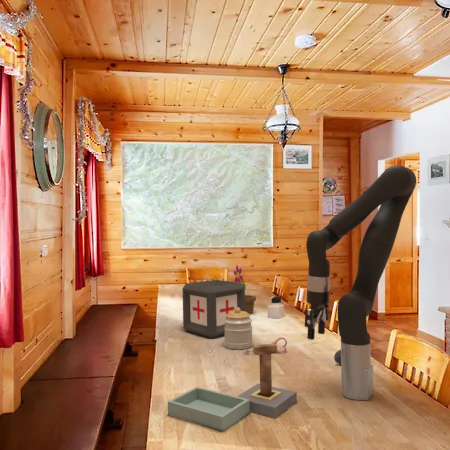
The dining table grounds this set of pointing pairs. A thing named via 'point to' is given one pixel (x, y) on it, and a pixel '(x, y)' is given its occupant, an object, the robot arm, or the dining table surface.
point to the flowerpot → (248, 298)
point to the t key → (265, 367)
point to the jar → (238, 330)
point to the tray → (209, 408)
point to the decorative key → (272, 343)
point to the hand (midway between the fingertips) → (316, 336)
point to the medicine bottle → (276, 308)
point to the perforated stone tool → (337, 357)
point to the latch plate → (269, 401)
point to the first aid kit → (210, 305)
